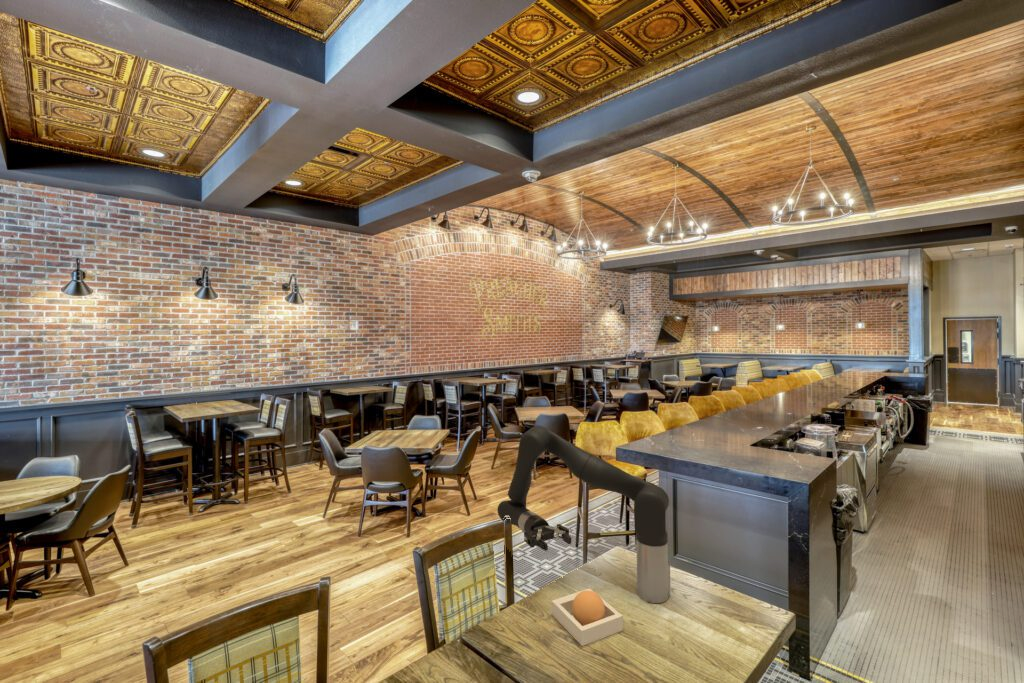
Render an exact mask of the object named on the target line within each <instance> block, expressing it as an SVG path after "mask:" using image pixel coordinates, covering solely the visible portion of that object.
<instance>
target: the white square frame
mask: <svg viewBox="0 0 1024 683" xmlns="http://www.w3.org/2000/svg"><path fill="white" fill-rule="evenodd" d="M586 590H587V591H593V590H592V589H591V588H587V589H582V590H581V591H577V592H574V593H570V594H568V595H565V596H562V597H558V598H556V599H553V600H551V615H552V616H553V617H554V618H555V620H556V621H558V623H559V624H560V625H561V626H562V627H563V628H564V629H565V630H566V631H567V632H568V633H569V634H570V635H571V636H572V638H574V639H575V641H576V642H577V643H578V644H579V645H581V647H584V646H586V645H589V644H592V643H594V642H597V641H600V640H601V639H604V638H608V637H610V636H611V635H615V634H618V633H620V632H622V631H624V624H623V623H624V622H623V621H624V618H623V615H622V614H621V613H620V612H619V611H617V609H615V608H614V607H613V606H611V605H610V604H609V603H608V602H607V601H606V600H604V599H603V598H602V597H601V596H600V598H601V599H602V601H603V603H604V606H605V616H604V619H601V620H598V621H596V622H593V623H590V624H587V625H585V626H582V625H581V624H580V623H579V622H578V621H577V620H576V619H575V617H574V615H573V611H572V605H573V601H574V598H575V597H576V596H577V594H579V593H580V592H582V591H586ZM593 592H595V591H593Z"/></svg>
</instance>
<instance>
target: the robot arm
mask: <svg viewBox="0 0 1024 683" xmlns="http://www.w3.org/2000/svg"><path fill="white" fill-rule="evenodd" d="M546 452H547V453H549V454H551V455H553V456H555V457H557V458H558V459H559V460H561V461H562V462H563V463H564V465H565V466H566V468H568V469H569V471H570V472H571V474H572V475H574V476H575V477H576V478H577V479H579V480H581V481H583V482H584V483H586V484H588V485H590V486H592V487H593V488H597V489H600V490H603V491H608V492H614V493H617V494H620V495H622V496H625V497H626V498H628V499H630V500H632V501H633V502H634V503H633V506H634V508H633V511H634V512H633V514H634V516H633V518H634V519H633V520H634V531H635V533H636V534H635V535H636V536H635V537H636V545H635V546H636V595H637V596H638V597H639V598H640V599H641V600H642V601H645V602H648V603H650V604H661V603H665V602H666V601H667V600H668V598H669V597H670V596H671V566H670V564H669V563H668V562H669V561H668V560H669V557H668V555H669V554H668V553H669V551H668V542H669V541H668V532H667V527H666V526H667V525H666V524H667V522H666V516H667V514H666V513H667V510H668V508H669V505H670V499H669V495H668V493H667V492H666V491H665V490H664V489H663V487H661V486H658V485H656V484H655V483H652V482H650V481H647V480H645V479H642V478H639V477H637V476H635V475H632V474H630V473H628V472H626V471H625V470H624V469H621V468H619V467H617V466H615V465H614V464H611V463H609V462H608V461H606V460H605V459H602V458H601V457H598V456H597V455H595V454H592V453H590V452H588V451H587V450H584V449H582V448H580V447H579V446H577V445H576V444H573V443H572V442H569V441H567V439H564V438H563V437H561V436H559V435H558V434H557V433H555V432H554V431H552V430H551V429H550V428H549V429H548V427H545V426H543V425H534V426H532V427H531V428H529V429H528V430H527V431H525V432H524V433H522V435H521V436H520V439H519V443H518V451H517V459H516V464H515V470H514V473H513V476H512V479H511V481H510V486H509V488H508V492H507V496H508V498H509V500H508V499H507V500H503V501H500V503H499V504H498V505H497V514H498V517H499V519H501V521H503V522H504V520H505V519H506V517H505V518H504V516H505V515H509V516H510V518H511V524H510V519H506V520H507V521H506V522H507V523H506V522H505V523H506V524H509V525H512V526H516V528H519V530H520V531H521V532H522V533H523V540H524V542H525V543H526V544H527V545H528V546H529V547H530V548H535V547H536V548H540V549H541V550H542V551H544V552H548V550H549V548H548V547H549V546H548V543H547V542H546V541H549V540H554V541H559V540H561V541H564V542H565V543H566V544H567V545H572V536H570V529H568V528H567V527H565V526H563V525H562V524H560V523H557V524H556V526H555V527H554V526H551V525H550V524H549V522H548V521H547V520H546V519H544V518H543V517H541V516H540V515H538V514H537V513H535V512H533V511H531V510H530V509H528V507H527V496H528V494H529V492H530V487H531V485H532V477H533V476H532V472H533V468H534V465H535V464H536V462H537V460H538V459H539V457H540V456H541V455H542V454H544V453H546ZM503 518H504V519H503ZM508 518H509V517H508Z"/></svg>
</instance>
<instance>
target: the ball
mask: <svg viewBox="0 0 1024 683" xmlns="http://www.w3.org/2000/svg"><path fill="white" fill-rule="evenodd" d="M585 590H586V589H585ZM581 591H582V592H580V591H579V592H580V593H579V594H577V596H576V597H575V598H574V601H573V605H572V611H573V614H572V616H573V617H574V618H575V619H576V620H577V621H578V622H579V623H580V624H581V625H582V626H585V625H587V624H590V623H593V622H596V621H598V620H601V619H604V616H605V606H604V603H603V601H602V599H603V598H602V597H601V596H600V595H599V594H598V593H596V592H595V591H594V592H593V590H592V591H587V590H586V591H583V590H581ZM600 597H601V598H602V599H601V598H600Z"/></svg>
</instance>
